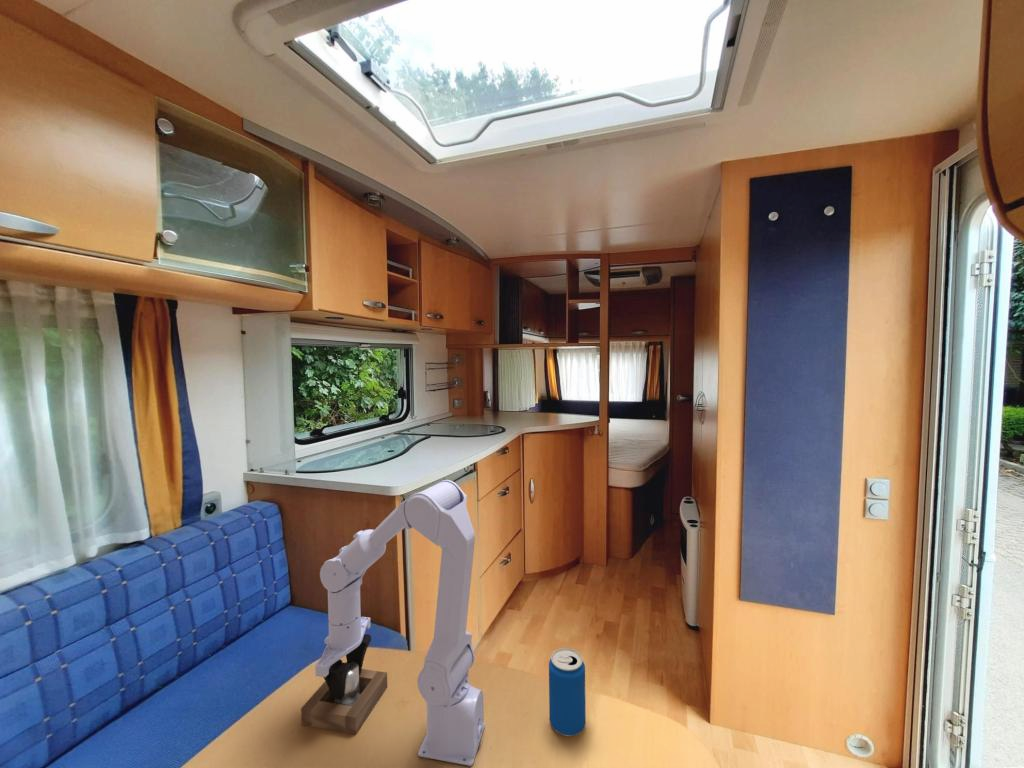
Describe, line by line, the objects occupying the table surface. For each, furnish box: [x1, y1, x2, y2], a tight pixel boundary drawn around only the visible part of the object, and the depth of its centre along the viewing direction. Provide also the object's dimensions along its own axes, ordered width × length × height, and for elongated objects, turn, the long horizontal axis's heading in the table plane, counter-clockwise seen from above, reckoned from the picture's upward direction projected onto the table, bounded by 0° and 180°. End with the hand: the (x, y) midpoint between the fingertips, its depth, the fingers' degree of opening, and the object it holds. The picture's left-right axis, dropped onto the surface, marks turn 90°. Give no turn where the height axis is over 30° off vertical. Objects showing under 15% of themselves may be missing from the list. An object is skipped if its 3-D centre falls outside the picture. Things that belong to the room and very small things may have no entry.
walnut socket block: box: [300, 668, 388, 735], centre depth 77 cm, size 11×11×3 cm
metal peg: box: [334, 661, 361, 706], centre depth 77 cm, size 4×4×7 cm
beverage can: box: [548, 647, 587, 737], centre depth 72 cm, size 6×6×12 cm
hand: (346, 686), depth 77 cm, fingers open, 5 cm apart
